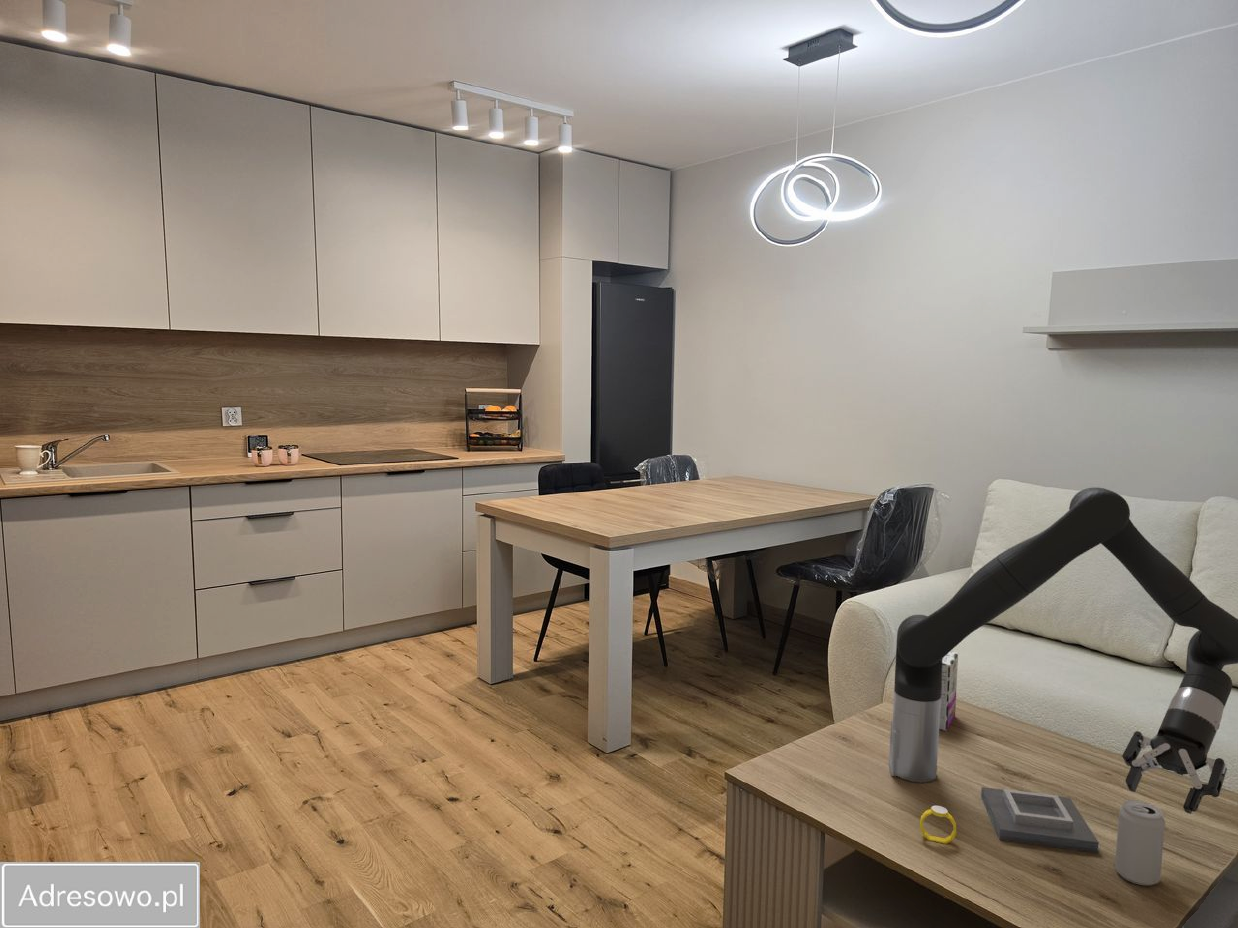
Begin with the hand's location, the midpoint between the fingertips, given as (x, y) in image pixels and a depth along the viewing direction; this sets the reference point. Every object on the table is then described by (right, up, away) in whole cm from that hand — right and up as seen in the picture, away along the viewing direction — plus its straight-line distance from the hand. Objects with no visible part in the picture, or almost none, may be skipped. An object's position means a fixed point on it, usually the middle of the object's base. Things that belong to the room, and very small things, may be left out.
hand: (1158, 799), depth 137 cm
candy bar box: (-13, -6, +60) cm, 62 cm away
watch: (-35, -11, +8) cm, 37 cm away
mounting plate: (-14, -10, +14) cm, 22 cm away
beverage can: (-5, -12, -2) cm, 13 cm away
